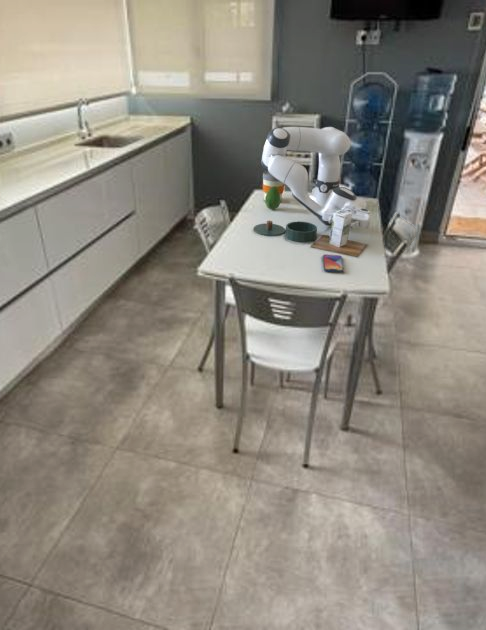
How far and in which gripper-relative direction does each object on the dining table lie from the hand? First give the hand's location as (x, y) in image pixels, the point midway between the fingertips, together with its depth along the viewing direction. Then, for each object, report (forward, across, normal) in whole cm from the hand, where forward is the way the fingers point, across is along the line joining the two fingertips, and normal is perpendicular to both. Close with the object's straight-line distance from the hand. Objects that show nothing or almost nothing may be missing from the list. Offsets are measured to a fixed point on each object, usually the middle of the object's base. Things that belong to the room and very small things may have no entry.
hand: (341, 223), depth 189 cm
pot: (-1, -18, +10) cm, 20 cm away
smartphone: (+19, +4, +10) cm, 22 cm away
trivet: (-1, 0, +10) cm, 10 cm away
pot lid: (-1, -33, +10) cm, 34 cm away
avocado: (-31, -45, +10) cm, 56 cm away
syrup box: (-1, 0, +10) cm, 10 cm away
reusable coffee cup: (-45, -51, +10) cm, 69 cm away
